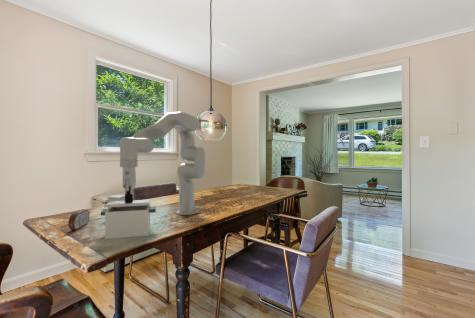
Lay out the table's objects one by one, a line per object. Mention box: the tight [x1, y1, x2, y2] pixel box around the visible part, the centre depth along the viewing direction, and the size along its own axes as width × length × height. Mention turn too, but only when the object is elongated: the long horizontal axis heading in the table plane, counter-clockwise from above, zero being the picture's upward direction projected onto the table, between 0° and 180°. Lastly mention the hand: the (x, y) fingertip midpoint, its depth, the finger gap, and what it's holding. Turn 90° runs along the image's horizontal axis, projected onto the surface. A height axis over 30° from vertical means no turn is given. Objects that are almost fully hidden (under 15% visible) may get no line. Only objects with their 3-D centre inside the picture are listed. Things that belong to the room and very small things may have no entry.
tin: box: [67, 209, 90, 231], centre depth 125 cm, size 15×3×8 cm, turn 5°
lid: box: [103, 199, 152, 209], centre depth 119 cm, size 19×19×3 cm
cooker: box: [100, 203, 157, 240], centre depth 120 cm, size 24×18×12 cm
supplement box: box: [107, 194, 125, 209], centre depth 143 cm, size 7×7×13 cm
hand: (128, 202), depth 116 cm, fingers closed
